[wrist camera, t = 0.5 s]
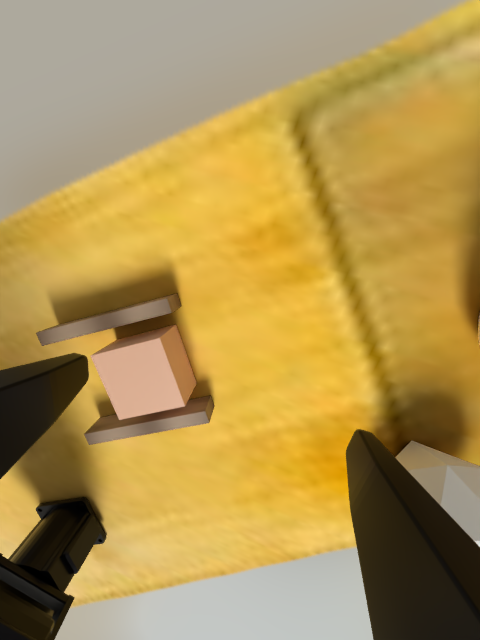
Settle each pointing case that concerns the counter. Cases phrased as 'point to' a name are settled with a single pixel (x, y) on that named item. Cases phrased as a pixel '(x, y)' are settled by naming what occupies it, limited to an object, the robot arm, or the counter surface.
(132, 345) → the block
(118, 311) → the corridor rails
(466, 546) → the robot arm
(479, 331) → the lidded bowl
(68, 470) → the counter surface
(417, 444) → the die
